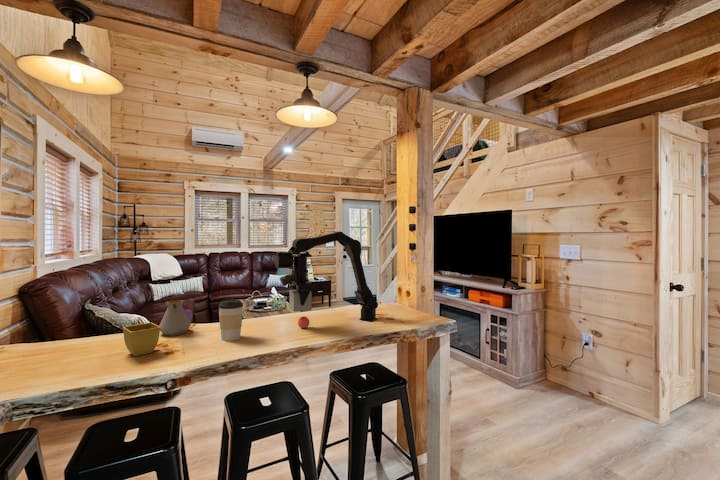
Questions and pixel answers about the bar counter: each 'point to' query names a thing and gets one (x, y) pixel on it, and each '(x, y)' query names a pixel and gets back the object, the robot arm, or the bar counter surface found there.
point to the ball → (303, 322)
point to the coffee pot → (174, 319)
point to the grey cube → (296, 304)
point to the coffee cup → (230, 319)
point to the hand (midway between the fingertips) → (299, 303)
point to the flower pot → (141, 338)
